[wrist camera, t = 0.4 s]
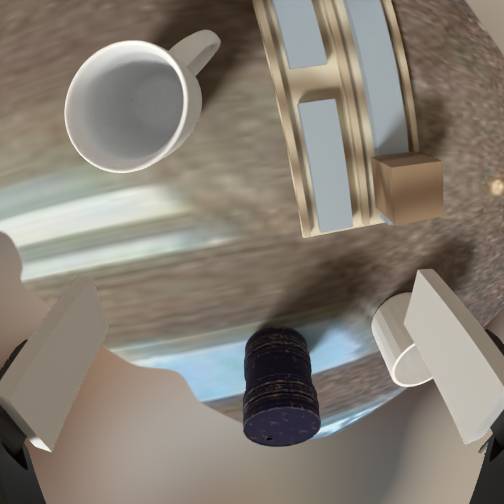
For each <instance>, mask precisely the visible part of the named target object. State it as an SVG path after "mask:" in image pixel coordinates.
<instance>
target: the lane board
mask: <svg viewBox="0 0 504 504" xmlns="http://www.w3.org/2000/svg"><path fill="white" fill-rule="evenodd" d="M311 1H312V4H313V8H314V11H315V15H316V19H317V22H318V26H319V30H320V34H321V38H322V42H323V46H324V50H325V54H326V58H327V63H328V64H326V65H321V66H312V67H305V68H297V69H291V70H289V67H288V62H287V58H286V54H285V50H284V46H283V42H282V38H281V34H280V30H279V26H278V22H277V18H276V15H275V11H274V7H273V4H272V0H252V3H253V6H254V10H255V14H256V18H257V21H258V25H259V29H260V33H261V37H262V41H263V45H264V49H265V53H266V57H267V61H268V66H269V70H270V74H271V78H272V83H273V87H274V92H275V96H276V101H277V105H278V110H279V114H280V119H281V124H282V128H283V133H284V138H285V143H286V148H287V153H288V158H289V163H290V169H291V174H292V179H293V185H294V190H295V195H296V201H297V207H298V212H299V218H300V224H301V230H302V236H303V238H306V237H311V236H317V235H322V234H327V233H332V232H337V231H342V230H348V229H353V228H358V227H363V226H368V225H373V224H379V223H384V222H385V221H383V220H382V219H381V218H380V211H379V210H378V209H377V208H376V207H375V196H374V185H373V176H372V166H371V158H370V157H374V149H373V142H372V134H371V127H370V121H369V115H368V108H367V103H366V97H365V92H364V86H363V81H362V76H361V71H360V66H359V62H358V57H357V53H356V49H355V44H354V40H353V36H352V32H351V28H350V25H349V21H348V17H347V14H346V10H345V7H344V3H343V0H311ZM380 3H381V7H382V10H383V14H384V17H385V21H386V25H387V28H388V32H389V36H390V41H391V45H392V49H393V54H394V58H395V63H396V68H397V73H398V78H399V84H400V89H401V95H402V102H403V108H404V115H405V123H406V131H407V140H408V150H409V152H413V151H417V152H419V143H418V133H417V125H416V117H415V109H414V102H413V96H412V89H411V84H410V78H409V73H408V67H407V62H406V58H405V53H404V48H403V44H402V40H401V36H400V32H399V28H398V24H397V20H396V17H395V13H394V9H393V6H392V3H391V0H380ZM327 99H335V101H336V106H337V112H338V117H339V123H340V129H341V135H342V141H343V147H344V154H345V161H346V168H347V175H348V183H349V191H350V200H351V209H352V219H353V227H351V228H345V229H340V230H335V231H330V232H325V233H321V232H320V230H319V228H318V221H317V214H316V207H315V201H314V195H313V188H312V182H311V176H310V171H309V165H308V159H307V154H306V148H305V143H304V137H303V132H302V127H301V122H300V117H299V112H298V107H297V104H300V103H306V102H313V101H320V100H327Z"/></svg>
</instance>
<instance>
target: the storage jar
mask: <svg viewBox="0 0 504 504" xmlns="http://www.w3.org/2000/svg"><path fill="white" fill-rule="evenodd" d="M311 372H312V371H311V361H310V356H309V352H308V350H307V344H306V341H305V339H304V337H303V336H302V335H301V334H300V333H299V332H297V331H295V330H293V329H291V328H287V327H269V328H265V329H263V330H260V331H258V332H256V333H255V334H254V335H252V336H251V337H250V339H249V340H248V342H247V344H246V347H245V359H244V377H245V380H246V391H245V393H244V397H243V432H244V434H245V436H246V437H247V438H248V439H249V440H251V441H252V442H255V443H257V444H260V445H264V446H270V447H284V446H291V445H296V444H299V443H302V442H304V441H306V440H308V439H310V438H312V437H313V436H314V435H316V433H317V432H318V431H319V429H320V427H321V420H320V416H319V404H318V399H317V393H316V390H315V387H314V386H313V384H312V379H311Z"/></svg>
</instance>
